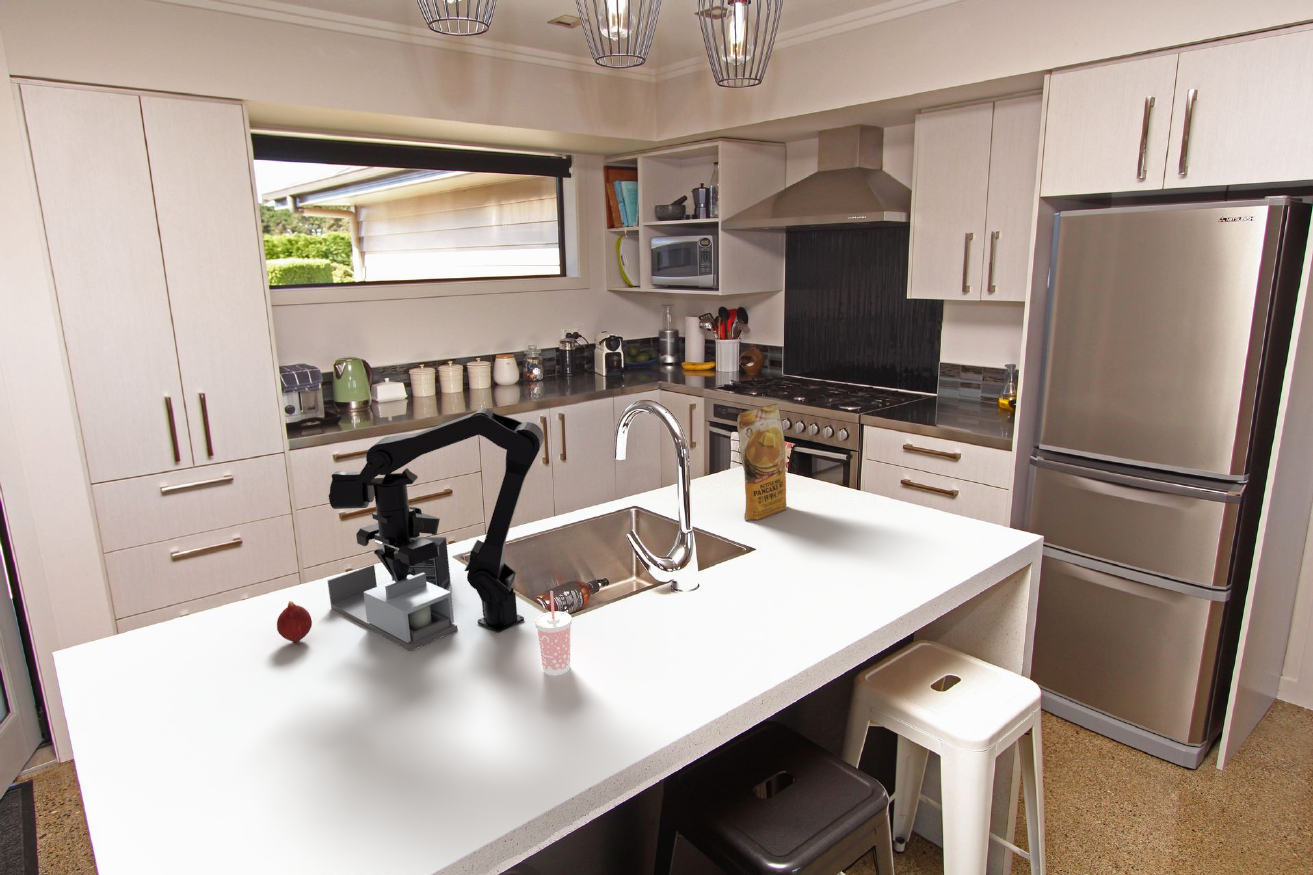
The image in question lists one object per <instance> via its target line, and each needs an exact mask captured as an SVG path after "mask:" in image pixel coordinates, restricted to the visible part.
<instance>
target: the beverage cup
mask: <svg viewBox="0 0 1313 875" xmlns="http://www.w3.org/2000/svg"><path fill="white" fill-rule="evenodd" d="M549 594H550V609H551V611H547V612H545V613H541V614H540V615H538V616H536V618H535V619H534V623H535V629H537V634H538V635H537V636H538V642H539V650H540V657H541V666H542V671H543V673H544V674H545V675H547V676H548V675H549V676H561V675H564V674H566V673H567V672H569V671H570V669H571V625H572V624H573V622H572V620H573V618H572V615H571V614H569V613H568V612H564V611H555V604H554V603H555V600H554V591H553V590H550V591H549Z"/></svg>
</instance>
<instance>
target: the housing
mask: <svg viewBox="0 0 1313 875" xmlns="http://www.w3.org/2000/svg"><path fill="white" fill-rule="evenodd" d="M376 577H377V576H376V568H375V564H371V565H367V566H365V567H362V568H359V569H356V570H354V571H351V572H347V573H345V574H341V575H338V576H336V577H333V578H330V579H327V587H328V588H327V589H328V594H329V595H328V596H329V600H330V603H329V604H330V608H331V609H333V610H335V612H338V613H339V614H340V615H341V614H342V615H343V616H346V617H347V618H348V619H351V620H353V621H354V622H356V623H358V624H360V625H362V626H363V627H365V628H368V629H369V630H371V631H373V632H375V633H377V634H379V635H380V636H382V637H384V638H386V639H388V640H390V641H392V642H393V643H395V644H398V645H399V646H401V647H403V648H404V649H406V650H408V651H410V652H412V651H414V650H417V649H418V648H421V647H423V646H424V645H427V644H429V643H432V642H434V641H437V640H438V639H440V638H443V637H444V636H447V635H450V634H451V633H454V632H456V631H458V629H459V628H458V624H456V623H454V622H453V623H449V619H448V618H446V617H444V616H442V615H440V614H437V613H435V612H433V611H431V610H430V605H428V606H426V607H424V608H421V609H419V610H416V611H414V612H412V613H409V614H408V620H409V631H410V640H411V641H410V642H408V643H407V642H405V641H403V640H401V639H399V638H397V637H395V636H393V635H392V634H390V633H388V632H386V631H384V630H382V629H380V628H378V627H376V626H375V625H373V624H371V623H369V622H367V616H366V608H365V600H364V591H367V590H370V589H372V588H375V587H378V584H377V578H376Z"/></svg>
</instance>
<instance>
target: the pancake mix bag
mask: <svg viewBox="0 0 1313 875" xmlns="http://www.w3.org/2000/svg"><path fill="white" fill-rule="evenodd" d="M736 428H737V434H738V440H739V452H740V455H739V456H740V461H741V464H742V467H743V471H744V473H743V475H744V490H745V491H744V492H745V512H744V518H743V519H744V521H758V520H762V519H764V518H768V517H771V516H773V515H777V514H779V513H781V512H784V511H785V510H787V477H786V475H787V474H786V470H787V468H786V466H787V464H786V462H787V461H786V446H785V445H786V444H785V443H786V442H785V435H784V430H783V423H782V417H781V411H780V407H779V405H778V404H777V403H772V404H769V405H765V406H760V407H756V408H753V409H748V410H746V411H743V412H740V413H739V414H738V416H737V422H736Z"/></svg>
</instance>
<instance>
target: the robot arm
mask: <svg viewBox="0 0 1313 875" xmlns="http://www.w3.org/2000/svg"><path fill="white" fill-rule="evenodd" d="M476 436H481V437H483V438H485V439H486V440H488V441H490V442H491V443H492V444H494V445H496V446H497V447H499V448H501V449H504V450H506V452H505V453H506V454H505V469H504V471H505V472H504V477H503V479H502V483H501V486H500V489H499V492H498V497H497V499H496V503H495V505H494V509H493V512H492V514H491V515H492V516H491V518H490V522H489V525H488V529H487V531H486V532H487V533H486V535H485V538H484V541H481V540H479V539H476V541H475V542H474V545H473V546H472V548H471V550H470V554H469V561H468V562H467V565H466V566H465V568H464V572H467V575H466V578H467V579H466V580H467V582H468V584H469V585H470V587H472V588H473V590H476V592H477V594H478V596H479V598H480V600H481V607H482V615H483V617H481V618H479V619H477V624H479V625H481V626H483V627H485V628H487V629H489V630H492V631H494V632H498V633H499V632H502V631H504V630H506V629H509V628H510V627H513V626H514V625H517V624H519V623H521V622H523V621H524V620H525V617H524V616H522V615H520V614H518V611H517V610H518V608H517V594H516V592H515V590H514V588H513V587H512V586H513V585H514V582H515V580H516V576H517V572H516V571H515V569H513V568H511V567H510V566H509V565H507V564H506V563H505V560H506V553H507V552H506V550H507V546H506V544H507V538H508V534H509V531H510V528H511V525H512V522H513V518H514V515H515V512H516V510H517V506H518V502H519V499H520V495H521V492H522V489H523V486H524V483H525V480H526V477H527V475H528V473H529V472H530V469H531V467H532V465H533V463H534V461H535V460H536V458H537V456H538V454H539V452H540V450H541V448H542V445H543V443H544V441H545V440H544V438H545V435H544V432H543V429H542V428H541V427H540V426H539V425H537V424H536V423H534V422H529V421H527V422H521V421H519V420H517V419H515V418H512V417H509V416H505V415H503V414H502V415H501V414H498V413H496V412H494V411H492V410H489V409H488V408H480V409H478V410H476V411H474V412H473V413H470V414H467V415H464V416H461V417H459V418H456V419H453V420H451V421H448V422H447V421H446V422H444V423H442V424H439V425H435V426H434V427H430V428H428V429H425V430H421V431H420V432H414V433H402V434H395V435H389V436H385V437H383V438H381V439H380V440H379V441H377V442H376V443H375V444H374V445H372V446H371V447H369V449H368V450H367V453H366V455H365V456H366V457H365V458H366V459H365V461H366V464H364V466H363V468H362V469H361V470H360V471H343V470H340V471H338V470H337V471H335V472H333V473H332V474H331V481H330V482H331V483H330V487H329V494H328V501H329V504H330V506H331V508H332V509H333V510H347V509H348V510H349V509H351V510H352V509H353V510H354V509H367V508H368V506H369V505H370V503H373V502H374V500H375V511H376V512H372V513H371V515H372V519H373V520H376V521H377V523H374V524H369V525H367V526H364V527H361V528H359V529H358V531H357V533H356V544H357V545H360V546H362V547H367V546H368V545H369V543H370V541H371V540H374V544H376V547H377V548H376V549H375V550H373V553H374V555H376V556H377V558H378V559H379V561H380V562H381V563H382V565H383V566H384V567H385V569H386V570H387V572H388V573H389V575H390V576H391V579H392V578H393V579H394V581H395V582H399V581H401V580H404V579H407V575H408V571H409V567H410V565H415V564H418V563H421V562H423V561H426V560H429V559H432V558H435V557H437V556H439V547H438V544H436V543H435V542H433V541H430V540H427V539H425V538H421V539H418V540H413V539H411V538H416V537H421V536H420V535H421V534H429V535H433V536H435V535H436V536H437V534H438V529H439V525H440V520H441V518H440V517H436V516H433V515H430V514H427V513H423V512H422V509H421V508H420V507H416V506H410V505H409V496H408V495H409V493H408V486H407V485H413V484H414V483H415V482H416V481H417V480H418V475H417V474H415V473H413V472H412V471H411V470H410V469H409V468H404V470H403V471H401V472H395V471H398V470H399V469H401V468H403V467H405V466H406V465H408V464H409V463H411V462H412V461H414V460H415V459H417V458H419V457H420V456H423V455H426V454H428V453H431V452H434V451H437V450H439V449H442V448H445V447H448V446H450V445H453V444H454V445H455V444H456V443H459V442H462V441H465V440H467V439H471V438H473V437H476ZM379 475H380V476H383V477H378V476H379Z"/></svg>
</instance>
